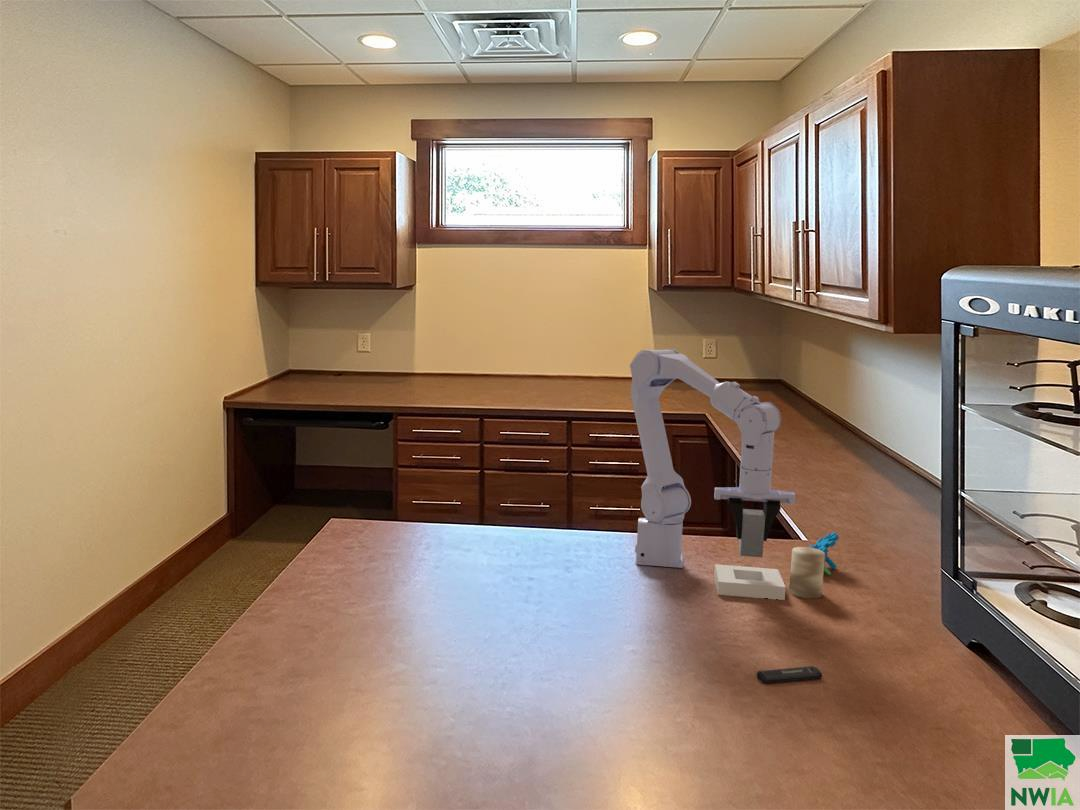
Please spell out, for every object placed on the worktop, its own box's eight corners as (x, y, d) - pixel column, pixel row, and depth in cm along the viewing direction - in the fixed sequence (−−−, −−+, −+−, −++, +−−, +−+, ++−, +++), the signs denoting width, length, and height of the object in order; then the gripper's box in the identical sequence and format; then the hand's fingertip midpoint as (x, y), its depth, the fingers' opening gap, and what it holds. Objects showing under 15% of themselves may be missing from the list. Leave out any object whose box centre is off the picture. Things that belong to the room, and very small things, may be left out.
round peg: (791, 597, 145) (794, 555, 144) (787, 586, 151) (789, 545, 150) (824, 599, 144) (827, 557, 143) (818, 588, 150) (821, 548, 149)
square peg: (740, 555, 147) (743, 514, 146) (738, 549, 151) (741, 508, 150) (762, 557, 146) (765, 515, 145) (759, 550, 150) (762, 510, 149)
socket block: (717, 594, 145) (718, 581, 145) (714, 576, 155) (714, 564, 154) (784, 600, 143) (785, 587, 143) (776, 581, 153) (777, 569, 153)
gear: (799, 549, 169) (836, 523, 164) (819, 570, 168) (856, 545, 163) (791, 570, 159) (830, 544, 155) (811, 593, 159) (851, 567, 154)
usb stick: (763, 687, 111) (764, 677, 110) (754, 679, 113) (755, 668, 113) (823, 682, 113) (824, 671, 113) (813, 673, 115) (813, 663, 115)
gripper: (717, 469, 143) (713, 541, 145) (800, 474, 141) (794, 547, 143) (715, 462, 150) (711, 531, 152) (793, 466, 148) (788, 536, 150)
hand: (751, 538), depth 148 cm, fingers closed on square peg, 4 cm apart
